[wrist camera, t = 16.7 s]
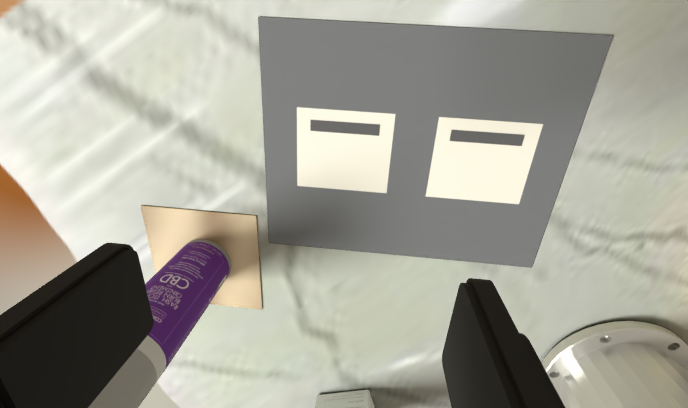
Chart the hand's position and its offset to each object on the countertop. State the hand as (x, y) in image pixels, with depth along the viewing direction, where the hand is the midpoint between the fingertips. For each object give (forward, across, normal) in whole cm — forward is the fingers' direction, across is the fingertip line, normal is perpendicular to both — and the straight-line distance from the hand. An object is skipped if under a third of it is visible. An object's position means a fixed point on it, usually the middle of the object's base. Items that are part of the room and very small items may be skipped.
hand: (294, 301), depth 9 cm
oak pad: (+16, +12, +11) cm, 23 cm away
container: (+16, +12, +11) cm, 23 cm away
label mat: (+16, -5, 0) cm, 17 cm away
